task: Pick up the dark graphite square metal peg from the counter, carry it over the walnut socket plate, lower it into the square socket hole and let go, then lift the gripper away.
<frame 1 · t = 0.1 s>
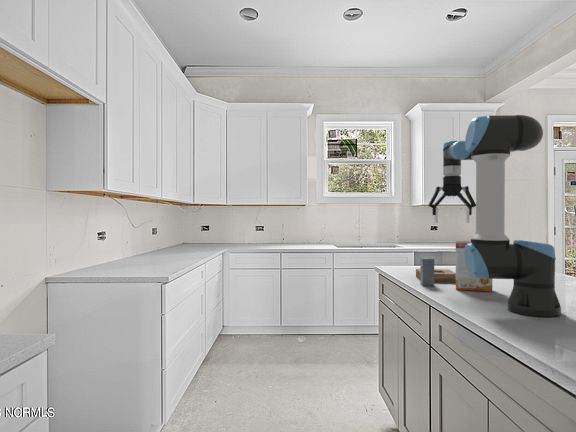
hand: (451, 222, 184), 28 cm above the worktop, fingers open, 13 cm apart
cracker box: (473, 290, 170), on the worktop
socket plate: (435, 279, 195), on the worktop
peg: (427, 285, 181), on the worktop
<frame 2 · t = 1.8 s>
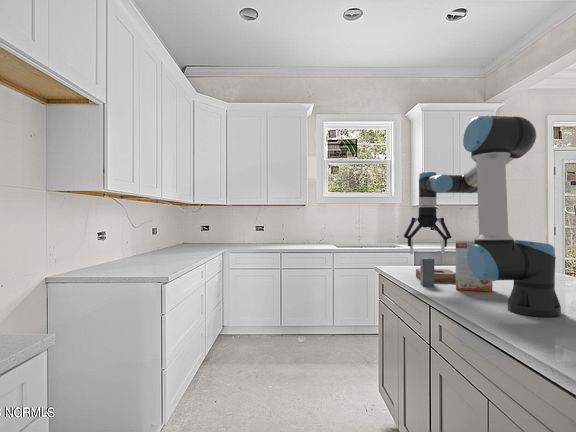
hand: (427, 254, 182), 14 cm above the worktop, fingers open, 13 cm apart
nothing on the worktop moved.
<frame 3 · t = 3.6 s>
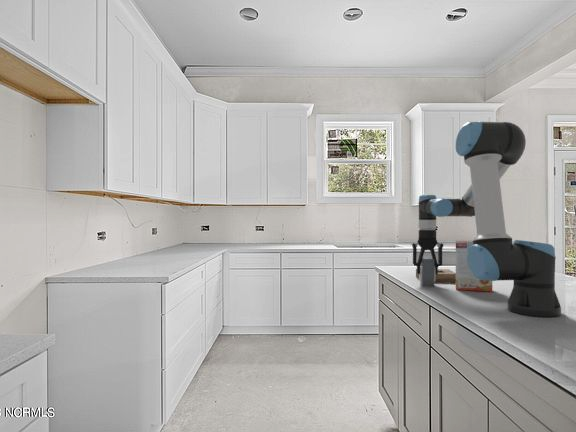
hand: (427, 281, 181), 2 cm above the worktop, fingers closed on peg, 5 cm apart
peg: (427, 284, 181), on the worktop, touching gripper
everything else where it was.
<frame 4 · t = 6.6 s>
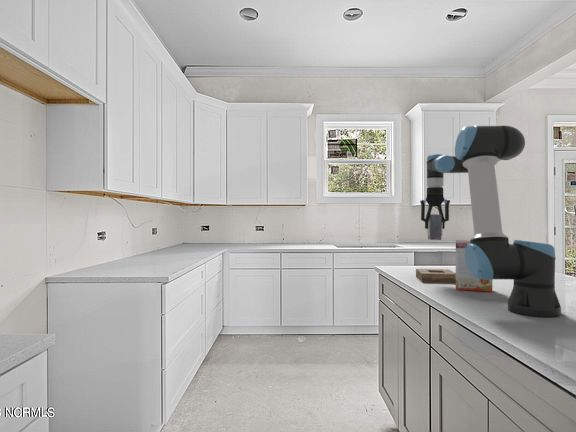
hand: (434, 235, 194), 21 cm above the worktop, fingers closed on peg, 5 cm apart
peg: (434, 239, 194), point 20 cm above the worktop, touching gripper
everything else where it was.
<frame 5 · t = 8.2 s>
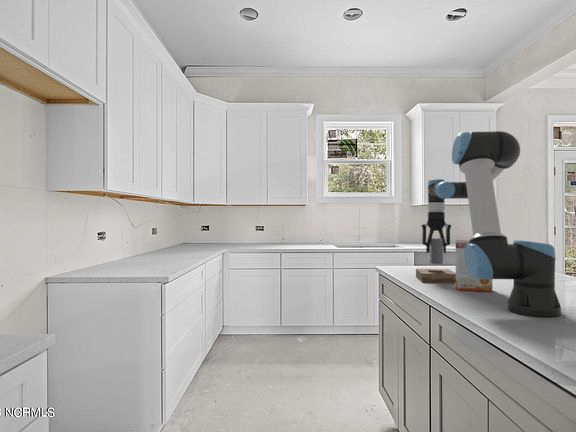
hand: (436, 259, 195), 10 cm above the worktop, fingers closed on peg, 5 cm apart
peg: (435, 263, 195), point 8 cm above the worktop, touching gripper
everything else where it was.
when the fingers open (5 cm above the worktop, at t = 9.6 s): peg drops 3 cm, resting in socket plate.
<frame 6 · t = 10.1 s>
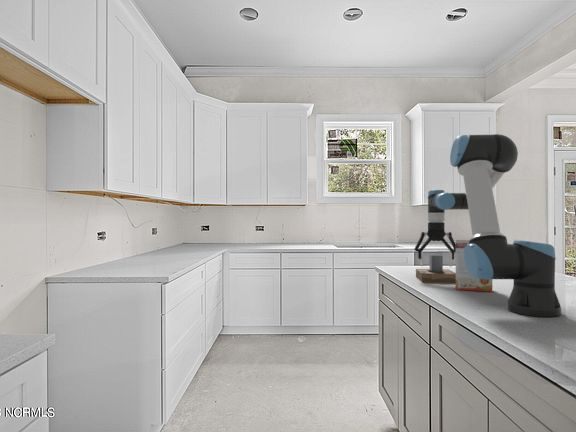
hand: (435, 266, 195), 7 cm above the worktop, fingers open, 13 cm apart
peg: (435, 279, 195), resting in socket plate
everything else where it was.
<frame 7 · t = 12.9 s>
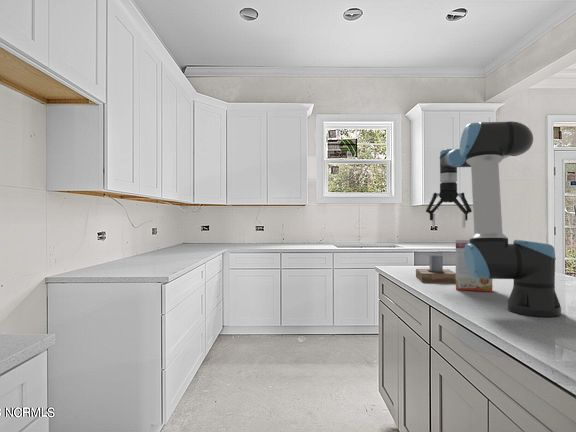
hand: (448, 227, 190), 25 cm above the worktop, fingers open, 13 cm apart
nothing on the worktop moved.
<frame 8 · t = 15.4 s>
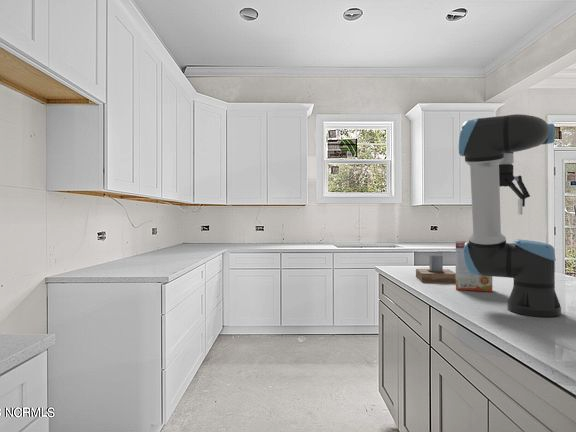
hand: (503, 214, 172), 32 cm above the worktop, fingers open, 13 cm apart
nothing on the worktop moved.
at the end: peg 0.0 cm off-centre on the socket plate, point 0.0 cm above the socket plate's base; peg tilted 0°; the gripper is holding nothing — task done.
